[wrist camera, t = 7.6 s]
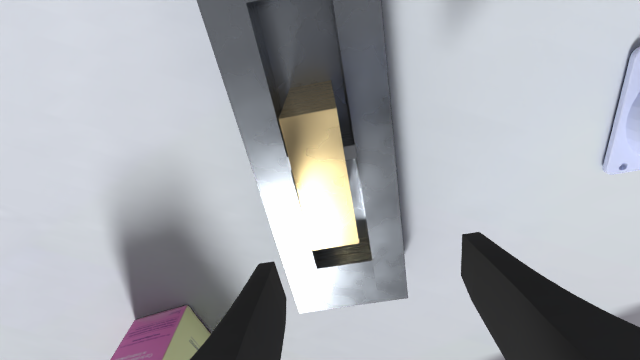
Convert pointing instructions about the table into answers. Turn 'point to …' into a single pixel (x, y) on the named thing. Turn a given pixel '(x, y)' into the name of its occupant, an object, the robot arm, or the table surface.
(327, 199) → the clip
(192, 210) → the table surface
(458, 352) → the table surface
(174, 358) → the box
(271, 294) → the robot arm
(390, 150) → the block
